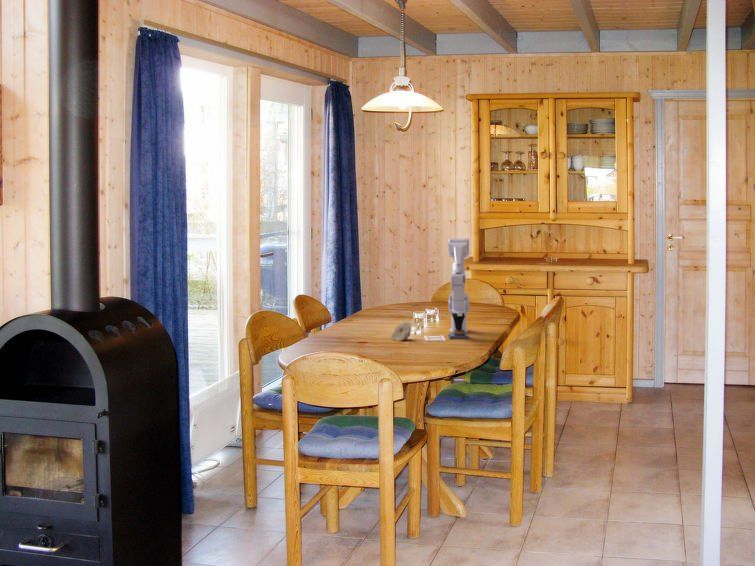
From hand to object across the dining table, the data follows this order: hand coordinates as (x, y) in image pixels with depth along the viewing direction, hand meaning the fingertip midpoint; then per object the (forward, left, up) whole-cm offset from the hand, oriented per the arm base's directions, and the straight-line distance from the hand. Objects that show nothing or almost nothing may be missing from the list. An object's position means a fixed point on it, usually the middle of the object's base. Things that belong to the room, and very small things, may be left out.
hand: (458, 329), depth 428 cm
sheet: (+2, -11, -3) cm, 12 cm away
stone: (+4, -26, -4) cm, 27 cm away
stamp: (0, 0, -2) cm, 2 cm away
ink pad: (0, 0, -3) cm, 3 cm away
